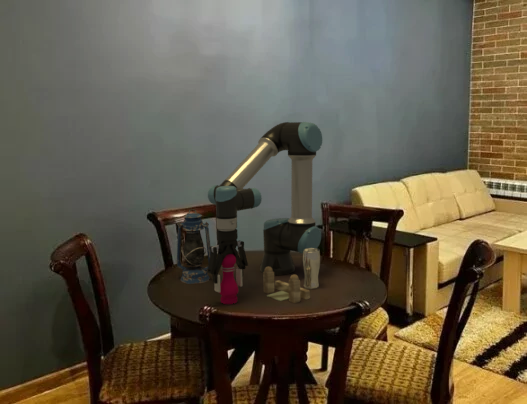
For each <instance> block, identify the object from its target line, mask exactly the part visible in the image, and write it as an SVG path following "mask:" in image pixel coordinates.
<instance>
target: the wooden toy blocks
mask: <svg viewBox="0 0 527 404" xmlns="http://www.w3.org/2000/svg"><path fill="white" fill-rule="evenodd" d="M264 271H265V272H263V273H262V275H263V277H262V279H263V281H262V283H263V286H262V287H263V291H262V292H263V293H265V294H267V295H266V297H267V298H269V299H272V300H275V301H278V302H283V301H287V300H288V302H290V303H293V304H297V303H299V302H301V299H304V300H308V299H310V298H311V290H309V289H308V288H305V287H304V288H303V287H301V280H300V279H299V276H298V275H297V274H291V275H290V277H289V279H288V282H285V281H282V280H275V275H274V272H273V269H272V268H271V267H269V266H268V267H266V268H265V270H264ZM275 290H277V292H275Z"/></svg>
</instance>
